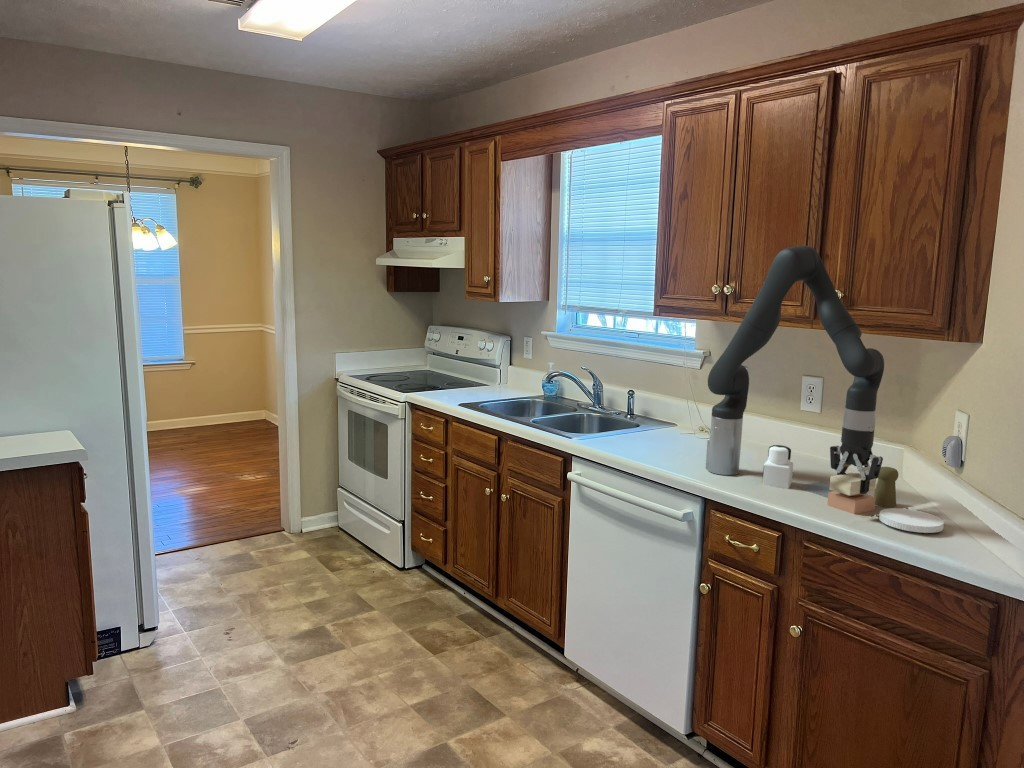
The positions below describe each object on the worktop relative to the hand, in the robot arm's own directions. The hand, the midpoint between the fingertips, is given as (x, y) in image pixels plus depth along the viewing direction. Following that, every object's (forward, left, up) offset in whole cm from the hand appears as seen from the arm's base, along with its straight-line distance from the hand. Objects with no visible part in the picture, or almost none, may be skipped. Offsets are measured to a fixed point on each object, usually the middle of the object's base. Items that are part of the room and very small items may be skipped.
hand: (852, 489), depth 193 cm
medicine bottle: (-24, 0, -6) cm, 25 cm away
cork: (+2, +11, -6) cm, 13 cm away
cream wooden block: (0, 0, 0) cm, 0 cm away
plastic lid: (+14, +4, -6) cm, 16 cm away
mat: (-14, +8, -6) cm, 17 cm away
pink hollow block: (0, 0, -6) cm, 6 cm away
